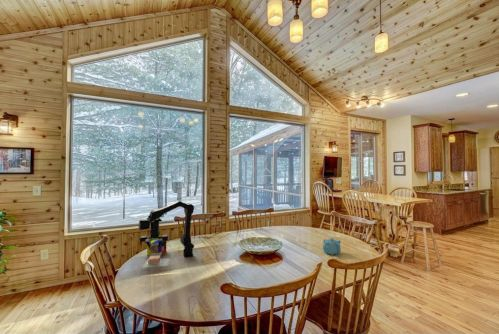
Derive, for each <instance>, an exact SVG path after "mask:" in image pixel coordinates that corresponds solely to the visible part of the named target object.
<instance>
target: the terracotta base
mask: <svg viewBox="0 0 499 334" xmlns="http://www.w3.org/2000/svg"><path fill="white" fill-rule="evenodd" d="M160 259H161V255H157V256H151V255H149V258H148V259H147V260H148V264H155V263H159V262H160Z"/></svg>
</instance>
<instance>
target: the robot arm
mask: <svg viewBox="0 0 499 334" xmlns="http://www.w3.org/2000/svg"><path fill="white" fill-rule="evenodd" d="M179 207H180V208H183V212H184V227H183V235H181V236H180V240H179V241H180V243H181V245H183V252H182V253H183V258H187V257H188V258H190V257H192V258H193V256H194V247H195V245H194V244H193V243H192V237H191V224H192V215H193V213H194V211H195V205H193V204H192V203H189V202H188V203H185V202H183V201H181V200H177V201H175V202H173V203H170V204H169V205H166V206H163V207H161V208H155V209H152V210H151V211H150V212H149V215H148V217H147V218H146V219H139V222H138V230H139V231H145V230H149V235H150V236H148V235H142V236H140V238H139V243H145V244H146V246H147V245H148V247H149V249H150V246H151V241H153V240H155V239H158V240H159V245H158V250H159V248H160V245H161V243H162V242H163V241H166V242H167V241H169V239H170V235H169V234H163V235H162V236H161V230H160V223H161V222H163V219H161V217H162V216H163V215H164V214H167V213H168V212H171V211H173V210H175V209H177V208H179Z"/></svg>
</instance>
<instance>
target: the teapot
mask: <svg viewBox="0 0 499 334" xmlns="http://www.w3.org/2000/svg"><path fill="white" fill-rule="evenodd" d="M322 241H323V244H322V251H323V252H324V254H326V253H327V254H329V255H330V256H331V255H339V254H341V252H342V249H341V243H342V241H341V240H339V239H338V240H337V239H334V238H332V237H331V238H328V239H326V238H325V239H323V240H322Z"/></svg>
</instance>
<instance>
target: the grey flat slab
mask: <svg viewBox="0 0 499 334" xmlns="http://www.w3.org/2000/svg"><path fill="white" fill-rule="evenodd" d="M170 259H171V257H170V258H169V257H167V258H166V257H165V258H160V262H159V263H155V264H148V259H146V260H145V262H144V264H143V265H142V268H155V267H168V265H169V263H170Z"/></svg>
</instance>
